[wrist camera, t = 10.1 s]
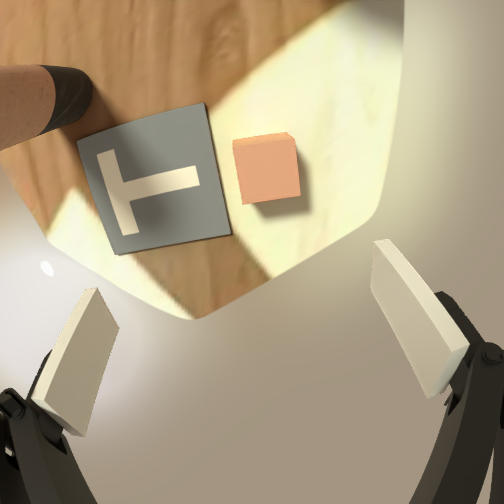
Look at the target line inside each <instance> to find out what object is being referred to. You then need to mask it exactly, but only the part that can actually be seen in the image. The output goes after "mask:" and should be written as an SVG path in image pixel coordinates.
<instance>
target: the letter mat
mask: <svg viewBox="0 0 504 504" xmlns="http://www.w3.org/2000/svg"><path fill="white" fill-rule="evenodd" d="M76 143H77V146H78V150H79V153H80V157H81V160H82V164H83V167H84V170H85V174H86V177H87V180H88V183H89V186H90V189H91V192H92V195H93V198H94V201H95V204H96V207H97V210H98V213H99V215H100V218H101V221H102V223H103V226H104V229H105V231H106V234H107V237H108V239H109V242H110V244H111V247H112V249H113V251H114V254H115V255H118V254H123V253H128V252H133V251H138V250H144V249H149V248H154V247H160V246H165V245H171V244H176V243H182V242H187V241H193V240H198V239H204V238H210V237H215V236H221V235H227V234H231V230H230V226H229V221H228V216H227V212H226V207H225V202H224V198H223V193H222V188H221V183H220V178H219V174H218V169H217V164H216V159H215V154H214V149H213V144H212V139H211V134H210V129H209V124H208V119H207V114H206V109H205V104H204V103H200V104H195V105H191V106H186V107H182V108H178V109H174V110H170V111H166V112H163V113H159V114H155V115H152V116H148V117H145V118H141V119H138V120H135V121H132V122H128V123H125V124H122V125H119V126H116V127H113V128H110V129H107V130H105V131H102V132H99V133H96V134H94V135H91V136H88V137H86V138H83V139H81V140H78V141H76Z"/></svg>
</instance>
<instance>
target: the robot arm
mask: <svg viewBox="0 0 504 504" xmlns="http://www.w3.org/2000/svg"><path fill="white" fill-rule="evenodd" d="M370 290H371V292H372V294H373V295H374V297H375V299H376V300H377V302H378V304H379V306H380V308H381V309H382V311H383V313H384V315H385V317H386V318H387V320H388V322H389V324H390V326H391V328H392V329H393V331H394V333H395V335H396V337H397V339H398V341H399V343H400V345H401V346H402V348H403V350H404V352H405V354H406V356H407V358H408V360H409V362H410V364H411V366H412V368H413V370H414V372H415V374H416V376H417V379H418V380H419V383H420V385H421V387H422V389H423V391H424V393H425V396H426V398H427V399H429V398H431V397H434V396H436V395H439V394H441V393H443V392H444V391H445V390H446V388H447V386H448V385H449V384H450V385H451V388H452V390H453V391H452V392H451V394H450V395H449V397H448V398H447V400H446V402H445V404H444V405H445V406H446V405H447V404H448V406H447V409H446V413H445V416H444V419H443V422H442V426H441V428H440V431H439V434H438V437H437V440H436V443H435V446H434V448H433V451H432V453H431V456H430V459H429V461H428V464H427V466H426V468H425V471H424V473H423V475H422V478H421V480H420V482H419V484H418V486H417V488H416V490H415V493H414V495H413V497H412V499H411V501H410V502H409V504H476V503H477V500H478V497H479V494H480V492H481V489H482V486H483V483H484V480H485V477H486V473H487V470H488V467H489V463H490V459H491V456H492V451H493V448H494V458H493V473H492V483H491V492H490V499H489V504H504V350H502V349H501V348H500V347H499V346H498V345H496V344H494V343H490V342H485V341H484V340H483V338H482V337H481V336H480V334H479V333H478V331H477V330H476V328H475V327H474V326H473V324H472V323H471V322H470V320H469V319H468V318H467V316H465V315H464V312H463V311H462V310H461V308H460V309H459V306H458V305H457V303H456V302H455V301H454V299H453V298H452V297H450V296H449V295H447V294H446V293H444V292H443V291H441V292H437V293H433V292H432V291H431V289H430V288H429V287H428V286H427V284H426V283H425V282H424V281H423V279H422V278H421V277H420V276H419V274H418V273H417V272H416V271H415V269H414V268H413V267H412V266H411V264H410V263H409V262H408V261H407V260H406V259H405V257H404V256H403V255H402V254H401V253H400V251H399V250H398V249H397V248H396V247H395V246H394V244H393V243H392V242H391V241H390V240H389V239H384V240H379V241H374V246H373V261H372V275H371V286H370ZM118 331H119V327H118V325H117V323H116V321H115V320H114V318H113V316H112V314H111V312H110V311H109V309H108V307H107V305H106V303H105V301H104V299H103V298H102V296H101V294H100V292H99V290H98V288H91V289H85V291H84V292H83V294H82V296H81V298H80V299H79V301H78V303H77V305H76V306H75V308H74V310H73V312H72V314H71V315H70V317H69V319H68V321H67V323H66V325H65V326H64V328H63V330H62V332H61V334H60V336H59V338H58V340H57V342H56V344H55V346H54V348H53V349H52V350H51V351H50V352H49V353H48V354H47V355H46V357H45V358H44V360H43V362H42V364H41V366H40V367H41V368H40V369H39V370H38V373H37V375H36V377H35V379H34V381H33V384H32V386H31V388H30V391H29V393H28V396H27V398H26V400H24V399H23V398H22V397H21V396H20V395H19V394H18V393H17V392H16V391H15V390H14V389H13V388H8V389H5V390H4V391H3V392H2V393H1V394H0V504H97V502H96V500H95V498H94V496H93V495H92V493H91V491H90V489H89V487H88V485H87V483H86V481H85V479H84V477H83V475H82V473H81V471H80V469H79V467H78V465H77V463H76V460H75V458H74V456H73V454H72V451H71V449H70V446H69V444H68V441H67V439H66V437H65V436H64V435H63V434H62V431H63V428H64V429H65V430H66V431H68V432H69V433H70V434H71V435H75V436H81V437H85V435H86V431H87V427H88V424H89V420H90V417H91V413H92V410H93V406H94V403H95V399H96V396H97V392H98V390H99V386H100V383H101V380H102V377H103V374H104V371H105V368H106V365H107V362H108V359H109V356H110V353H111V350H112V347H113V345H114V342H115V339H116V336H117V333H118ZM2 413H3V414H2ZM5 447H6V448H8V449H9V450H11V451H12V456H10V455H8V454H7V453H6V452H5Z"/></svg>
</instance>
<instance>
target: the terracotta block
mask: <svg viewBox="0 0 504 504" xmlns="http://www.w3.org/2000/svg"><path fill="white" fill-rule="evenodd" d="M233 153H234V159H235V164H236V170H237V175H238V181H239V186H240V192H241V198H242V203H243V205H244V204H250V203H256V202H262V201H269V200H275V199H282V198H288V197H295V196H301V193H300V183H299V173H298V164H297V155H296V146H295V139H294V138H293V137H292V136H291V135H289V134H288V133H287V132H284V133H276V134H268V135H261V136H255V137H248V138H242V139H236V140H233Z"/></svg>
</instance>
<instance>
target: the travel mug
mask: <svg viewBox="0 0 504 504" xmlns="http://www.w3.org/2000/svg"><path fill="white" fill-rule="evenodd" d="M91 97H92V86H91V82H90V80H89V78H88V76H87V75H86V74H85V73H84V72H83V71H81V70H79V69H75V68H69V67H59V66H47V65H12V66H0V151H1V150H3V149H6V148H8V147H11V146H13V145H16V144H18V143H21V142H24V141H26V140H29V139H32V138H34V137H36V136H39V135H41V134H44V133H46V132H49V131H51V130H54V129H56V128H59V127H62V126H64V125H67V124H70V123H72V122H74V121H76V120H78V119H79V118H80V117H81V116H82V115H83V114H84V113H85V112H86V110H87V108H88V106H89V104H90V101H91Z"/></svg>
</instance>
